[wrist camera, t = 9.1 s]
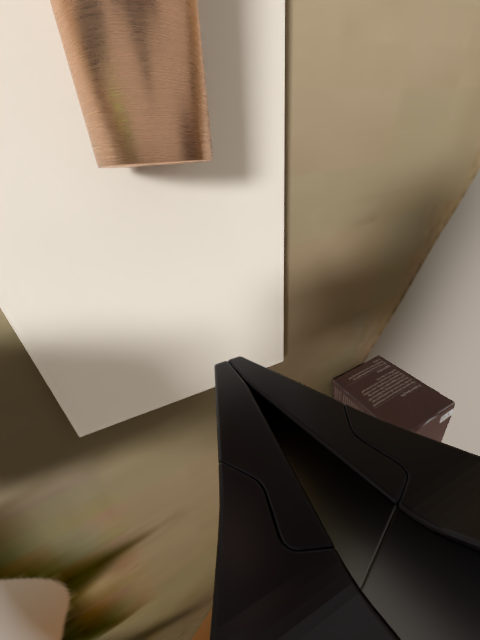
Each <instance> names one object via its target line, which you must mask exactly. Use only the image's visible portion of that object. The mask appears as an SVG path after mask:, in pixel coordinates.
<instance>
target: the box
mask: <svg viewBox="0 0 480 640" xmlns="http://www.w3.org/2000/svg"><path fill="white" fill-rule="evenodd" d="M333 399H336V400H338V401H340V402H342V403H343V404H344V405H345V404H347V405H349V406H351V407H353V408H355V409H358V410H360V411H362V412H364V413H367V414H369V415H371V416H374V417H376V418H378V419H381V420H383V421H386V422H388V423H391V424H393V425H396V426H399V427H401V428H404V429H406V430H409V431H412V432H414V433H417V434H420V435H423V436H425V437H428V438H431V439H433V440H436V441H439V442H441V441H442V438H443V436H444V433H445V430H446V428H447V424H448V423H449V420H450V418H451V415H452V413H453V410H454V405H455V403H454V402H453V401H452V400H450V399H448V398H447V397H445V396H443V395H441V394H440V393H439V392H437V391H435V390H434V389H432V388H430V387H429V386H427V385H425V384H424V383H422V382H421V381H419V380H418V379H416V378H414V377H413V376H411V375H410V374H408V373H406V372H405V371H403V370H402V369H400V368H398V367H397V366H395V365H393V364H392V363H390V362H389V361H387V360H385V359H384V358H382V357H380V356H377V357H375V358H373V359H371V360H370V361H368V362H366V363H364V364H362V365H360V366H359V367H357V368H355V369H353V370H351V371H349V372H347V373H345V374H344V375H342V376H340V377H338V378H336V379H334V380H333Z"/></svg>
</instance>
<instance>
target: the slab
mask: <svg viewBox="0 0 480 640" xmlns="http://www.w3.org/2000/svg"><path fill="white" fill-rule="evenodd" d="M198 9H199V19H200V30H201V40H202V50H203V60H204V71H205V81H206V91H207V102H208V112H209V122H210V133H211V143H212V153H213V161H209V162H201V163H192V164H180V165H167V166H151V167H133V168H98V166H97V162H96V159H95V155H94V152H93V149H92V145H91V142H90V138H89V135H88V131H87V128H86V124H85V121H84V117H83V114H82V110H81V107H80V103H79V100H78V97H77V93H76V90H75V86H74V83H73V79H72V76H71V72H70V69H69V65H68V62H67V58H66V55H65V51H64V48H63V44H62V41H61V38H60V34H59V31H58V27H57V24H56V20H55V17H54V13H53V10H52V6H51V3H50V0H0V308H1V309H2V311H3V313H4V314H5V316H6V318H7V319H8V321H9V323H10V324H11V326H12V327H13V329H14V331H15V332H16V334H17V336H18V337H19V339H20V341H21V342H22V344H23V345H24V347H25V349H26V350H27V352H28V354H29V355H30V357H31V359H32V360H33V362H34V364H35V365H36V367H37V368H38V370H39V372H40V373H41V375H42V377H43V378H44V380H45V382H46V383H47V385H48V387H49V388H50V390H51V391H52V393H53V395H54V396H55V398H56V400H57V401H58V403H59V405H60V406H61V408H62V409H63V411H64V413H65V414H66V416H67V418H68V419H69V421H70V423H71V424H72V426H73V428H74V429H75V431H76V432H77V434H78V436H79V437H82V436H85V435H88V434H90V433H93V432H96V431H98V430H101V429H104V428H106V427H109V426H112V425H114V424H117V423H120V422H122V421H125V420H128V419H130V418H133V417H136V416H138V415H141V414H144V413H146V412H149V411H152V410H154V409H157V408H160V407H162V406H165V405H168V404H170V403H173V402H176V401H178V400H181V399H184V398H187V397H189V396H192V395H195V394H197V393H200V392H203V391H205V390H208V389H211V388H213V387H215V371H214V366H215V364H218V363H220V362H223V361H228V360H229V359H232V358H235V357H238V356H241V357H244V358H246V359H248V360H250V361H252V362H255V363H257V364H259V365H261V366H263V367H266V368H267V367H269V366H272V365H275V364H277V363H280V362H283V335H284V101H285V0H198Z"/></svg>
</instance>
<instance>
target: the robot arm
mask: <svg viewBox="0 0 480 640" xmlns="http://www.w3.org/2000/svg"><path fill="white" fill-rule="evenodd" d="M214 371H215V394H216V416H217V438H218V460H219V504H220V508H219V527H218V544H217V556H216V568H215V581H214V593H213V605H212V618H211V630H210V640H480V456H478V455H475V454H472V453H469V452H466V451H463V450H461V449H458V448H455V447H453V446H450V445H447V444H444V443H442V442H439V441H436V440H433V439H431V438H428V437H425V436H423V435H420V434H417V433H414V432H412V431H409V430H406V429H404V428H401V427H399V426H396V425H393V424H391V423H388V422H386V421H383V420H381V419H378V418H376V417H374V416H371V415H369V414H367V413H364V412H362V411H360V410H358V409H355V408H353V407H351V406H349V405H347V404H345V405H344V404H343V403H342V402H340V401H338V400H336V399H333V398H331V397H329V396H327V395H325V394H322V393H320V392H318V391H316V390H314V389H311V388H309V387H307V386H305V385H303V384H301V383H298V382H296V381H294V380H292V379H290V378H287V377H285V376H283V375H281V374H279V373H276V372H274V371H272V370H270V369H268V368H266V367H263V366H261V365H259V364H257V363H255V362H252V361H250V360H248V359H246V358H244V357H241V356H238V357H235V358H232V359H229V360H228V361H223V362H220V363H218V364H215V366H214Z"/></svg>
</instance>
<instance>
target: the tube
mask: <svg viewBox="0 0 480 640" xmlns="http://www.w3.org/2000/svg"><path fill="white" fill-rule="evenodd" d="M50 3H51V6H52V10H53V13H54V17H55V20H56V24H57V27H58V31H59V34H60V38H61V41H62V44H63V48H64V51H65V55H66V58H67V62H68V65H69V69H70V72H71V76H72V79H73V83H74V86H75V90H76V93H77V97H78V100H79V103H80V107H81V110H82V114H83V117H84V121H85V124H86V128H87V131H88V135H89V138H90V142H91V145H92V149H93V152H94V155H95V159H96V162H97V166H98V168H133V167H151V166H167V165H180V164H192V163H201V162H209V161H213V153H212V143H211V133H210V122H209V112H208V102H207V91H206V81H205V71H204V60H203V50H202V40H201V30H200V19H199V9H198V0H50Z"/></svg>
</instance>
